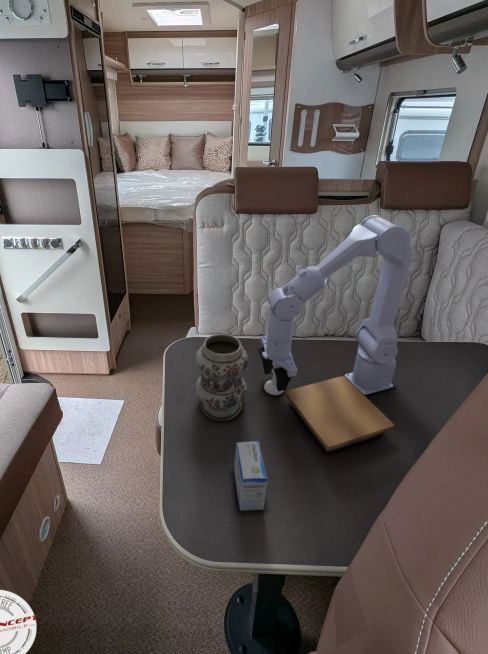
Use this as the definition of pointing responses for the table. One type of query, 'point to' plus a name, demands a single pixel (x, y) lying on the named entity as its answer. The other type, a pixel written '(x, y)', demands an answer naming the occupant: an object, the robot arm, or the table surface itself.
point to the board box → (337, 413)
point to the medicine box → (250, 476)
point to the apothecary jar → (221, 376)
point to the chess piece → (272, 383)
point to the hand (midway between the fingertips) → (274, 381)
